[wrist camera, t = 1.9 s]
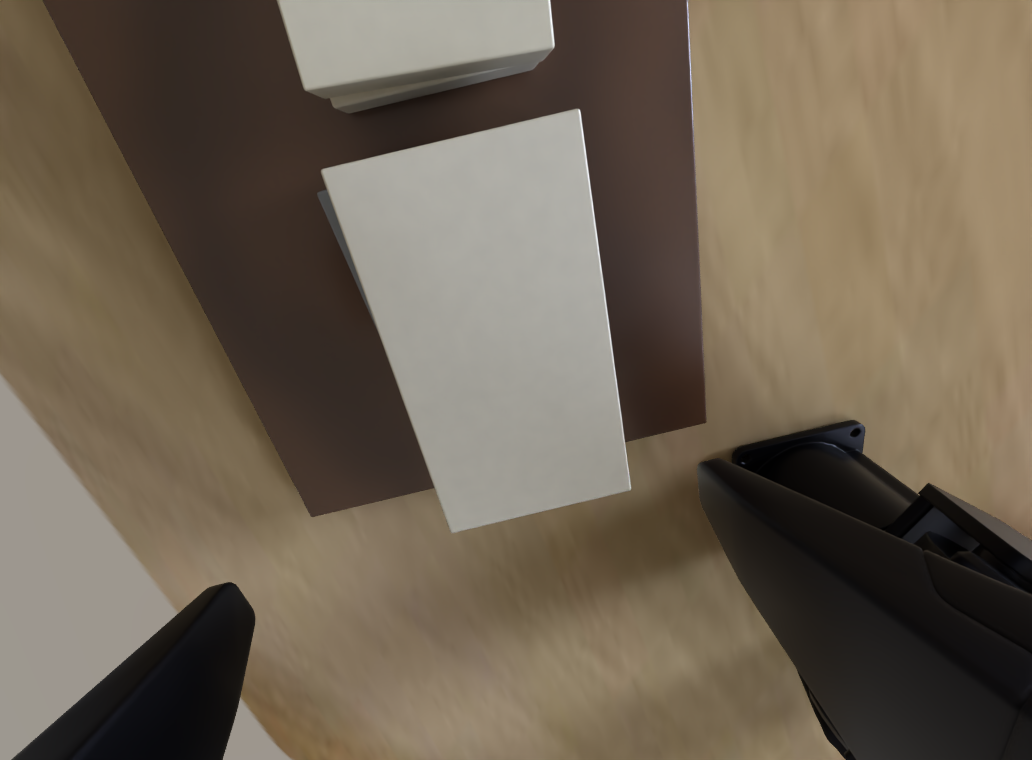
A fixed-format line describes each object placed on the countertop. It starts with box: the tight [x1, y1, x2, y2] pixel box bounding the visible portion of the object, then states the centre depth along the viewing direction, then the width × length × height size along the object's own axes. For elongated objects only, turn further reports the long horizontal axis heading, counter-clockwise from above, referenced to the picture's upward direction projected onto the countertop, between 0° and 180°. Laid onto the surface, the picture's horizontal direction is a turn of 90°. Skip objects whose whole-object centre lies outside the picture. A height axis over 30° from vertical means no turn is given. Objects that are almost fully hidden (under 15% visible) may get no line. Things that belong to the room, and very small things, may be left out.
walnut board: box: [43, 0, 707, 517], centre depth 16 cm, size 18×28×2 cm, turn 12°
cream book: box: [321, 109, 631, 533], centre depth 14 cm, size 6×11×2 cm, turn 12°
